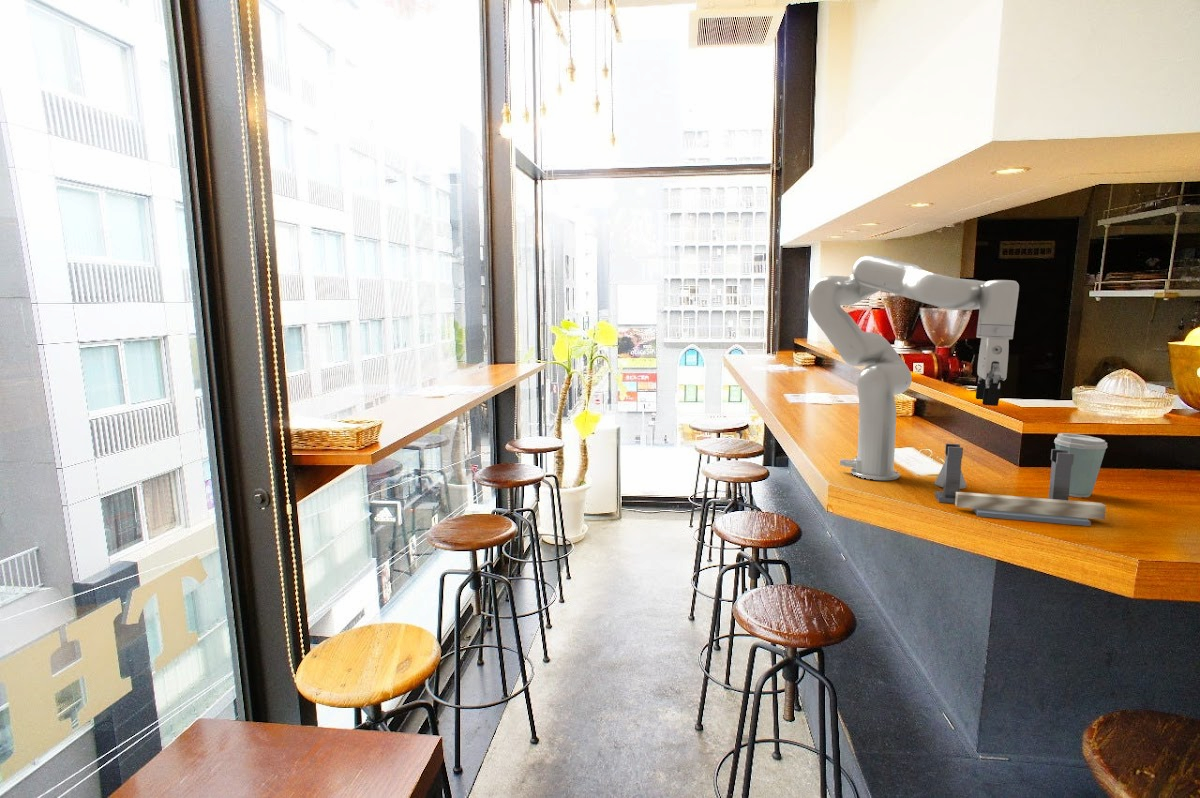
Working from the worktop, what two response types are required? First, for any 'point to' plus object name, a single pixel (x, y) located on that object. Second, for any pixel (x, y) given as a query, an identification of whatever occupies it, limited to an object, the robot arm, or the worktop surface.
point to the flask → (940, 479)
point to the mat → (1032, 517)
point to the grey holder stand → (1057, 478)
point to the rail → (1031, 505)
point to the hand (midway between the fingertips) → (986, 402)
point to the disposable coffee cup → (1082, 461)
